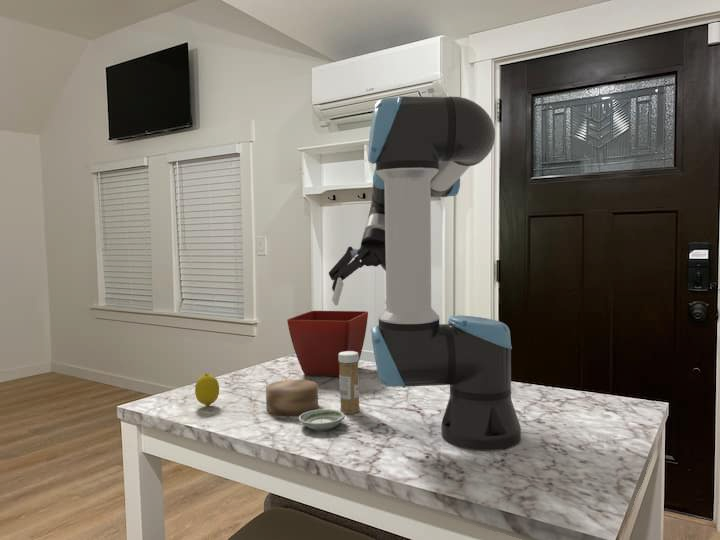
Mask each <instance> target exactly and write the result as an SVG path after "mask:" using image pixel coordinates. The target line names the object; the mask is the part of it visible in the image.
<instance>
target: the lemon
mask: <svg viewBox="0 0 720 540" xmlns="http://www.w3.org/2000/svg"><path fill="white" fill-rule="evenodd" d="M194 392H195V393H194V395H195V398H196V400H197V401H198V403H200V404H203V405H204V406H205V407H210V406H211V405H212V404H213V403H215V402H216V401H217V399H218V398H219V394H220V385H219V381H218V379H217V378H216V377H215V376H214V375H211V374H209V373H204V374H203V375H201V376H200V377H199V378H198V379H197V380H196V383H195V387H194Z"/></svg>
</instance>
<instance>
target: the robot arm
mask: <svg viewBox="0 0 720 540" xmlns="http://www.w3.org/2000/svg"><path fill="white" fill-rule="evenodd" d="M495 140H496V129H495V125H494V122H493V120H492V118H491V116H490V115H489V113H488V112H487V111H486V110H485V109H484V108H483V107H482V106H481V105H480V104H478V103H476V102H475V101H473V100H470V99H468V98H465V97H461V96H402V95H400V96H395V97H385V98H381V99H379V100H378V101H377V102H375V104H374V107H373V112H372V118H371V124H370V131H369V140H368V152H367V153H368V155H367V161H368V162H369V163H370V164H373V165H374V164H375V168H374V173H373V175H372V176H373V177H372V193H371V202H370V203H371V204H370V208H369V212H368V215H367V219H366V223H365V227H364V231H363V235H362V238H361V242H360V247H359V248H358V249H356V248H353V247H352V246H348V247H347V248H346V249H347V250H346V252H345V253H344V254H343V255H342V257H341V258H340V259H339V260H338V262H336V263H335V265H334V266H333V267H332V268H331V269H330V271H328V276H329V278H330V279H331V280H332V281H333V283H332V286H331V290H332V292H333V294H332V298H331V300H332V302H333V304H334V306H338V305H339V303H340V299H341V295H342V291H343V289H344V288H343V287H344V280H345V279H347V278H349V276H350V275H352V274H353V273H354V272H356V271H357V270H358V269H360V268H363V267H364V266H365V267H371V266H372V267H378V266H381V268H382V269H383V270H384V271H385V301H384V303H385V306H386V307H385V309H384V310H383V311H382V312H381V313H380V314H379V316H378V325H374V326H372V327H370V332H371V343H372V348H373V350H372V351H373V355H374V360H375V367H376V373H377V376H378V380H379V381H380V383H381V385H383V386H386V387H393V388H394V387H396V388H397V387H399V388H400V387H401V388H403V389H405V388H406V387H428V386H430V387H431V386H432V387H433V386H449V399H448V401H447V404H446V408H445V410H444V414H443V417H442V420H441V425H440V426H441V437H442V438H443V439H444V440H445V441H446V442H447V443H450V444H451V445H454V446H457V447H460V448H464V449H469V450H475V451H476V450H477V451H498V450H504V449H505V450H506V449H509V448H512V447H514V446H516V445H518V444H519V443H520V442H521V441H522V440H521V439H522V435H521V434H522V431H521V429H522V428H521V424H520V421H519V418H518V416H517V412H516V409H515V406H514V403H513V401H512V400H513V399H512V349H513V347H512V342H511V341H512V340H511V331H510V328H509V326H508V325H507V324H506V323H504V322H502V321H499V320H497V319H490V318H487V317H486V318H485V317H480V316H473V315H471V316H470V315H461V314H460V315H451V316H449V319H448V320H447V323H443V324H441V323H440V315H439V314H438V313H437V312H436V310H434V309H433V307H432V236H431V235H432V232H431V231H432V222H431V220H432V213H431V212H432V210H431V209H432V208H431V207H432V206H431V205H432V204H431V203H432V201H431V198H447V197H455V196H457V195H459V194H458V193H459V192H460V188H461V177H462V176H463V175H464V174H465V173H466V172H467V170H469V168H470V167H472V166H476V165H478V164H480V163H481V162H483V161H484V160H485V159H486V158H487V157H488V156H489V155H490V153H491V151H492V149H493V147H494V145H495Z"/></svg>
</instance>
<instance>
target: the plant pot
mask: <svg viewBox="0 0 720 540" xmlns="http://www.w3.org/2000/svg"><path fill="white" fill-rule="evenodd" d="M368 319H369V311H366V310H365V311H361V310H360V311H358V310H310V311H307V312H305V313H300V314H298V315H296V316H293V317H291V318H288V319H286V321H287V326H288V331H289V336H290V338H291V343H292V346H293V349H294V352H295V355H296V359H297V361H298V362H299V363H298V364H299V366H300V368H301V370H302V372H303V374H304V375H306V376H307V375H309V376H310V375H311V376H322V377H323V376H327V377H340V376H339V375H340V364H339V353H340V352H344V351H355V352H358V354H359V361H358V363H360V358H361V357H362V356H361V355H362V351H363V347H364V343H365V338H366V334H367V333H366V332H367V325H368Z"/></svg>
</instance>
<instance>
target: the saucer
mask: <svg viewBox="0 0 720 540" xmlns="http://www.w3.org/2000/svg"><path fill="white" fill-rule="evenodd" d="M345 417H346V416H345V413H343V412H341V411H340V410H337V409H331V408H329V409H327V408H326V409H323V408H321V409H316V410H312V411H308V412H305V413H303V414H301V415H298V421H299V422H300V423H301V424H302V425H303V426H305V428H306V427H307V428H309V429H311V430H313V431H318V432H321V431H323V432H324V431H329V430H331V429H333V428H335V427H336V426H338V425H339V424H341V422H342V421H344V420H345Z"/></svg>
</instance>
